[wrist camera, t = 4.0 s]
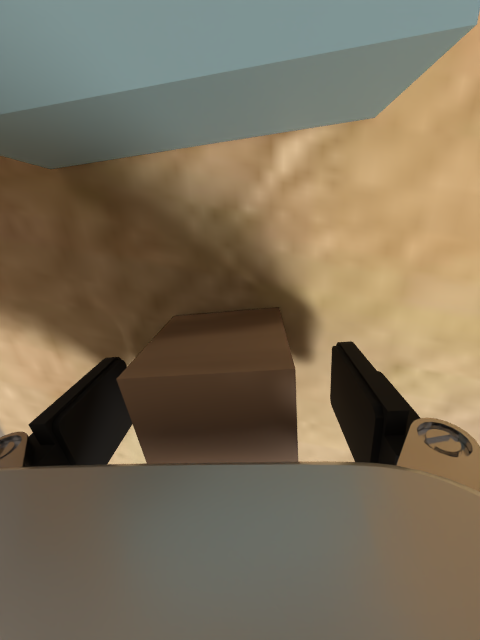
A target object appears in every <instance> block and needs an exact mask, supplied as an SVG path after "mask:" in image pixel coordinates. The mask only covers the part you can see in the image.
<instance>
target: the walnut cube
mask: <svg viewBox="0 0 480 640" xmlns="http://www.w3.org/2000/svg"><path fill="white" fill-rule="evenodd" d="M116 380H117V382H118V385H119V388H120V391H121V393H122V396H123V399H124V402H125V404H126V407H127V410H128V413H129V415H130V418H131V421H132V424H133V426H134V429H135V432H136V435H137V437H138V440H139V443H140V446H141V448H142V451H143V454H144V456H145V459H146V462H147V464H156V463H214V462H298V441H297V409H296V377H295V366H294V362H293V359H292V355H291V351H290V347H289V344H288V340H287V336H286V332H285V329H284V325H283V321H282V317H281V313H280V310H279V307H276V308H264V309H252V310H240V311H228V312H217V313H205V314H193V315H181V316H174V317H173V318H172V319H171V320H170V321H169V322H168V323H167V324H166V325H165V326H164V327H163V329H162V330H161V331H160V332H159V333H158V334H157V335H156V336H155V337H154V338H153V339H152V341H151V342H150V343H149V344H148V345H147V346H146V347H145V348H144V349H143V350H142V352H141V353H140V354H139V355H138V356H137V357H136V358H135V359H134V360H133V361H132V362H131V364H130V365H129V366H128V367H127V368H126V369H125V370H124V371H123V372H122V373H121V374H120V376H119V377H118V378H117V379H116Z"/></svg>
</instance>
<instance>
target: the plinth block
mask: <svg viewBox="0 0 480 640" xmlns="http://www.w3.org/2000/svg"><path fill="white" fill-rule="evenodd" d="M479 10H480V0H0V156H4V157H8V158H11V159H15V160H19V161H22V162H26V163H30V164H33V165H37V166H41V167H44V168H48V169H55V168H61V167H68V166H74V165H80V164H87V163H93V162H99V161H106V160H112V159H118V158H124V157H131V156H137V155H143V154H150V153H156V152H162V151H169V150H175V149H181V148H188V147H194V146H200V145H206V144H213V143H219V142H225V141H232V140H238V139H244V138H251V137H257V136H263V135H269V134H276V133H282V132H288V131H295V130H301V129H307V128H314V127H320V126H326V125H333V124H339V123H345V122H351V121H358V120H364V119H370V118H375V117H376V116H377V115H378V114H379V113H380V112H381V111H382V110H383V109H385V108H386V107H387V106H388V105H389V104H390V103H391V102H392V101H393V100H394V99H395V98H397V97H398V96H399V95H400V94H401V93H402V92H403V91H404V90H405V89H406V88H408V87H409V86H410V85H411V84H412V83H413V82H414V81H415V80H416V79H417V78H418V77H420V76H421V75H422V74H423V73H424V72H425V71H426V70H427V69H428V68H429V67H431V66H432V65H433V64H434V63H435V62H436V61H437V60H438V59H439V58H440V57H441V56H443V55H444V54H445V53H446V52H447V51H448V50H449V49H450V48H451V47H452V46H454V45H455V44H456V43H457V42H458V41H459V40H460V39H461V38H462V37H463V36H465V35H466V34H467V33H468V32H469V31H470V30H471V29H472V28H473V27H474V26H475V25H477V20H478V15H479Z"/></svg>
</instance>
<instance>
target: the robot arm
mask: <svg viewBox="0 0 480 640" xmlns="http://www.w3.org/2000/svg"><path fill="white" fill-rule="evenodd" d="M126 368H127V367H126V364H125V361H124V360H121V358H119V357H112V358H105V359H103V360H102V361H101V362H100V363H99V364H98V365H96V366H95V367H94V368H93V369H92V370H91V371H90V372H88V373H87V374H86V375H85V376H84V377H83V378H82V379H80V380H79V381H78V382H77V383H76V384H75V385H74V386H72V387H71V388H70V389H69V390H68V391H67V392H65V393H64V394H63V395H62V396H61V397H60V398H59V399H57V400H56V401H55V402H54V403H53V404H52V405H51V406H49V407H48V408H47V409H46V410H45V411H44V412H42V413H41V414H40V415H39V416H38V417H37V418H36V419H34V420H33V421H32V422H31V423H30V424H29V426H30V428H31V430H32V432H33V433H32V434H31V435H30V436H29V437H28V435H27V434H26V433H25V432H15V433H10V434H8V435H5V436H2V437H0V640H480V446H479V445H478V443H477V442H476V440H475V439H474V438H473V437H472V436H471V435H469V434H468V433H467V432H466V431H464V430H462V429H461V428H459V427H458V426H456V425H453V424H451V423H449V422H446V421H443V420H439V419H434V418H420V417H419V416H418V414H417V413H416V412H415V411H414V410H413V409H412V407H411V406H410V405H409V404H408V403H407V402H406V400H405V399H404V398H403V397H402V396H401V395H400V393H399V392H398V391H397V390H396V389H395V388H394V386H393V385H392V384H391V383H390V382H389V381H388V379H387V378H386V377H385V376H384V375H383V374H382V373H381V372H379V371H376V369H375V368H374V367H373V366H372V365H371V363H370V362H369V361H368V360H367V359H366V357H365V356H364V355H363V354H362V352H361V351H360V350H359V349H358V348H357V346H356V345H355V344H354V343H353V342H338V343H337V345H336V346H333V347H332V365H331V394H330V399H331V405H332V408H333V410H334V413H335V415H336V417H337V420H338V422H339V424H340V427H341V429H342V432H343V434H344V436H345V439H346V441H347V444H348V446H349V448H350V451H351V453H352V456H353V458H354V460H355V462H328V461H326V462H214V463H156V464H109V465H107V464H108V462H109V460H110V459H111V457H112V456H113V454H114V452H115V451H116V449H117V448H118V446H119V444H120V443H121V441H122V440H123V438H124V437H125V435H126V433H127V432H128V430H129V429H130V427H131V425H132V421H131V418H130V415H129V413H128V410H127V407H126V404H125V402H124V399H123V396H122V393H121V391H120V388H119V385H118V382H117V380H116V379H117V378H118V377H119V376H120V374H121V373H122V372H123V371H124V370H125V369H126Z"/></svg>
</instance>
